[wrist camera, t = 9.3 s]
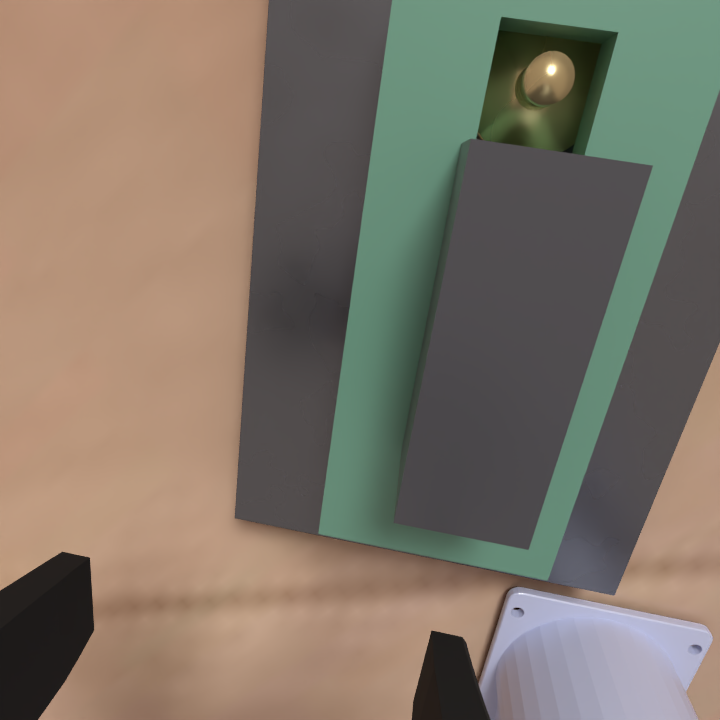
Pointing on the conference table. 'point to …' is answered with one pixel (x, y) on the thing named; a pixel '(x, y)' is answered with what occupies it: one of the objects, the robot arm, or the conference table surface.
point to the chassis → (338, 259)
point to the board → (407, 216)
